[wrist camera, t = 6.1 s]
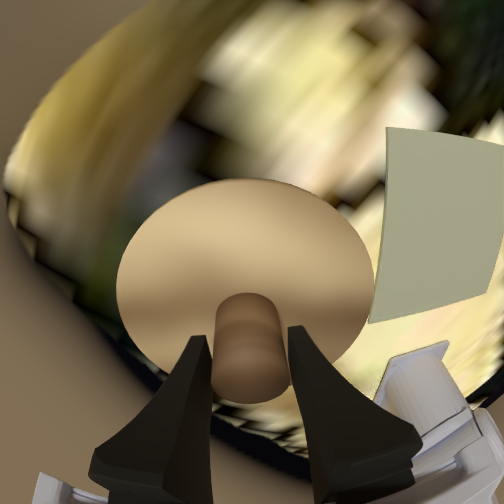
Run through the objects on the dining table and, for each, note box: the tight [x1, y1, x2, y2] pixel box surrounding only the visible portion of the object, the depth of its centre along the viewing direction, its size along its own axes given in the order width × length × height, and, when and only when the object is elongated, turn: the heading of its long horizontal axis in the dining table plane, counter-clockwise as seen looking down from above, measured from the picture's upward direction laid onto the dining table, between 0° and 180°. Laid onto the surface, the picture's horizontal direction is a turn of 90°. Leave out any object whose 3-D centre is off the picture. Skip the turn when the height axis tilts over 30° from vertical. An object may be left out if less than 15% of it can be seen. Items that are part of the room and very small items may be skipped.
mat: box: [368, 127, 504, 324], centre depth 18 cm, size 15×15×1 cm
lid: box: [116, 178, 374, 404], centre depth 12 cm, size 13×13×5 cm
